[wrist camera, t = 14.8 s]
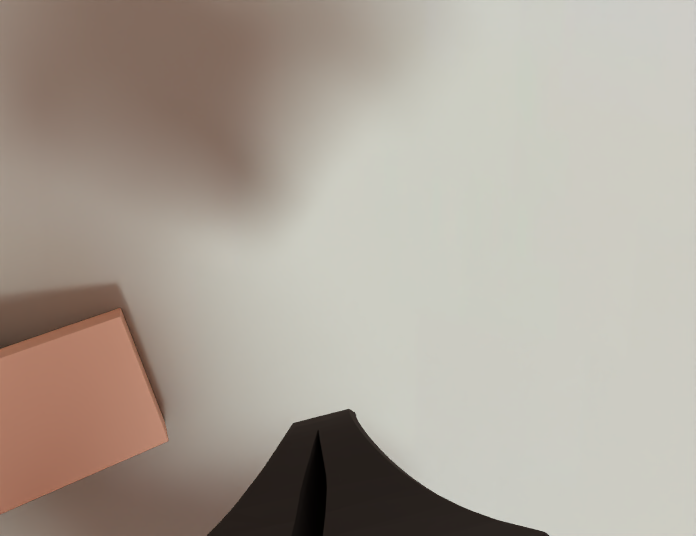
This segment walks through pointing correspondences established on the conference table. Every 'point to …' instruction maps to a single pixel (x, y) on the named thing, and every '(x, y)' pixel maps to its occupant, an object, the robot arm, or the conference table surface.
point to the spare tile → (72, 407)
